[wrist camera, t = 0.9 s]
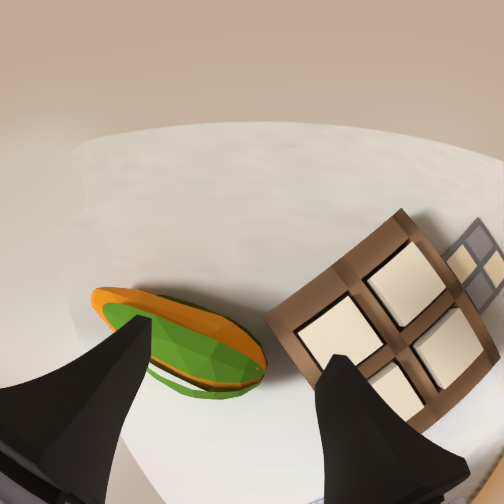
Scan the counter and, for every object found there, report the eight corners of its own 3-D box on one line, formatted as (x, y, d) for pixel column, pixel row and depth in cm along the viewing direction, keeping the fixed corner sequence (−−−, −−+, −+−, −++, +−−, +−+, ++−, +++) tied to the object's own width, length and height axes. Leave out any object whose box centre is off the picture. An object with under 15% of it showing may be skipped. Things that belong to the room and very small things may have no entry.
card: (511, 272, 18) (514, 271, 17) (474, 319, 18) (477, 319, 18) (476, 218, 20) (478, 216, 20) (436, 261, 21) (438, 260, 20)
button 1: (417, 400, 17) (424, 407, 15) (372, 432, 17) (375, 442, 15) (391, 361, 18) (397, 365, 16) (345, 395, 18) (346, 402, 17)
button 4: (436, 290, 18) (446, 287, 16) (398, 325, 19) (404, 326, 17) (405, 247, 20) (412, 241, 18) (366, 281, 20) (369, 278, 18)
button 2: (472, 348, 16) (483, 349, 14) (435, 384, 16) (444, 389, 14) (449, 309, 18) (459, 307, 16) (411, 345, 18) (418, 347, 16)
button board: (482, 353, 17) (500, 357, 14) (366, 449, 18) (370, 467, 15) (393, 222, 23) (401, 207, 20) (271, 316, 24) (262, 316, 21)
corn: (232, 433, 15) (55, 323, 22) (258, 408, 22) (103, 331, 29) (268, 332, 17) (76, 255, 23) (284, 334, 24) (121, 273, 30)
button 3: (378, 342, 19) (383, 344, 17) (331, 376, 19) (332, 381, 17) (346, 297, 20) (348, 295, 18) (300, 331, 21) (297, 333, 19)
